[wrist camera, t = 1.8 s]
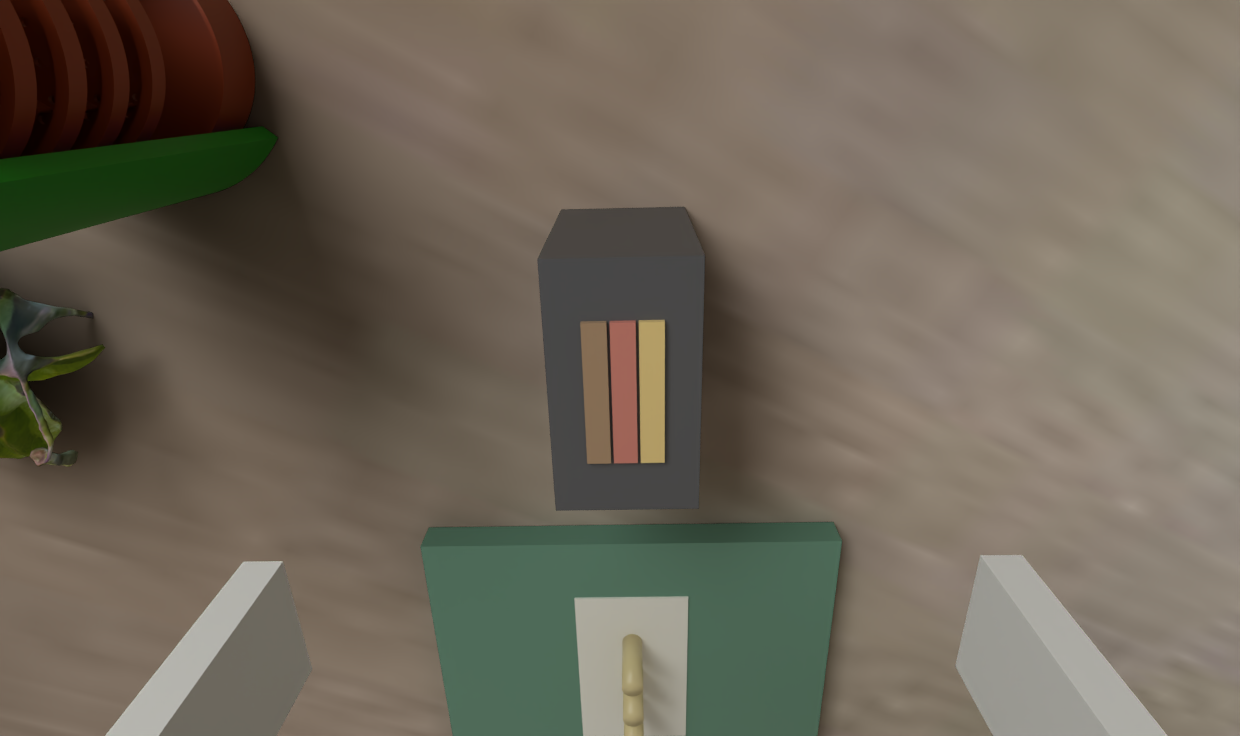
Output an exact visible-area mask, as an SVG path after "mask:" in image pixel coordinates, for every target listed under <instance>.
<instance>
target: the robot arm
mask: <svg viewBox="0 0 1240 736" xmlns="http://www.w3.org/2000/svg"><path fill="white" fill-rule="evenodd" d="M955 667H956V668H957V670H958V672H959V674H960V676H961V678H962V679H963V681H964V683H965V685H966V687H967V689H968V690H969V692H970V694H971V696H972V698H973V700H974V702H975V703H976V705H977V707H978V709H979V711H980V713H981V714H982V716H983V718H984V720H985V722H986V724H987V726H988V727H989V729H990V731H991V733H992V735H993V736H1167V734H1166V733H1165V732H1164V731H1163V729H1162V728H1161V727H1160V726H1159V724H1158V723H1157V722H1156V721H1155V719H1154V718H1153V717H1152V716H1151V714H1150V713H1149V712H1148V711H1147V709H1146V708H1145V707H1144V706H1143V705H1142V703H1141V702H1140V701H1139V700H1138V698H1137V697H1136V696H1135V695H1134V693H1133V692H1132V691H1131V690H1130V688H1129V687H1128V686H1127V685H1126V683H1125V682H1124V681H1123V680H1122V678H1121V677H1120V676H1119V675H1118V673H1117V672H1116V671H1115V670H1114V668H1113V667H1112V666H1111V665H1110V664H1109V662H1108V661H1107V660H1106V659H1105V657H1104V656H1103V655H1102V654H1101V652H1100V651H1099V650H1098V649H1097V647H1096V646H1095V645H1094V644H1093V642H1092V641H1091V640H1090V639H1089V637H1088V636H1087V635H1086V634H1085V632H1084V631H1083V630H1082V629H1081V628H1080V626H1079V625H1078V624H1077V623H1076V621H1075V620H1074V619H1073V618H1072V616H1071V615H1070V614H1069V613H1068V611H1067V610H1066V609H1065V608H1064V606H1063V605H1062V604H1061V603H1060V601H1059V600H1058V599H1057V598H1056V596H1055V595H1054V594H1053V593H1052V591H1051V590H1050V589H1049V588H1048V587H1047V585H1046V584H1045V583H1044V582H1043V580H1042V579H1041V578H1040V577H1039V575H1038V574H1037V573H1036V572H1035V570H1034V569H1033V568H1032V567H1031V565H1030V564H1029V563H1028V562H1027V560H1026V559H1025V558H1024V557H1023V555H980V559H979V564H978V568H977V573H976V577H975V581H974V586H973V590H972V595H971V599H970V603H969V608H968V612H967V617H966V621H965V625H964V630H963V634H962V639H961V643H960V648H959V652H958V656H957V661H956V665H955ZM311 670H312V667H311V663H310V659H309V655H308V652H307V648H306V644H305V641H304V637H303V633H302V630H301V626H300V622H299V619H298V615H297V611H296V607H295V604H294V600H293V596H292V593H291V589H290V585H289V582H288V578H287V574H286V571H285V567H284V563H283V561H264V562H243V563H242V564H241V565H240V567H239V568H238V569H237V570H236V572H235V573H234V574H233V575H232V577H231V578H230V579H229V580H228V582H227V583H226V584H225V585H224V587H223V588H222V589H221V591H220V592H219V593H218V594H217V596H216V597H215V598H214V599H213V601H212V602H211V603H210V604H209V606H208V607H207V608H206V609H205V611H204V612H203V613H202V614H201V616H200V617H199V618H198V620H197V621H196V622H195V623H194V625H193V626H192V627H191V628H190V630H189V631H188V632H187V633H186V635H185V636H184V637H183V638H182V640H181V641H180V642H179V643H178V645H177V646H176V647H175V648H174V650H173V651H172V652H171V654H170V655H169V656H168V657H167V659H166V660H165V661H164V662H163V664H162V665H161V666H160V667H159V669H158V670H157V671H156V672H155V674H154V675H153V676H152V677H151V679H150V680H149V681H148V683H147V684H146V685H145V686H144V688H143V689H142V690H141V691H140V693H139V694H138V695H137V696H136V698H135V699H134V700H133V701H132V703H131V704H130V705H129V706H128V708H127V709H126V710H125V711H124V713H123V714H122V715H121V717H120V718H119V719H118V720H117V722H116V723H115V724H114V725H113V727H112V728H111V729H110V730H109V732H108V733H107V734H106V735H105V736H277V734H278V732H279V730H280V728H281V726H282V724H283V722H284V721H285V719H286V717H287V715H288V713H289V711H290V709H291V708H292V706H293V704H294V702H295V700H296V698H297V696H298V695H299V693H300V691H301V689H302V687H303V685H304V683H305V681H306V680H307V678H308V676H309V674H310V672H311Z"/></svg>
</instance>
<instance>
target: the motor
mask: <svg viewBox="0 0 1240 736" xmlns="http://www.w3.org/2000/svg"><path fill="white" fill-rule="evenodd" d="M254 92H255V70H254V62H253V57H252V52H251V49H250V45H249V42H248V39H247V36H246V34H245V31H244V29H243V27H242V25H241V22H240V20H239V19H238V17H237V15H236V13H235V11H234V10H233V8H232V7H231V5H230V4H229V2H228V1H227V0H0V251H4V250H7V249H11V248H15V247H18V246H22V245H25V244H29V243H33V242H36V241H40V240H44V239H47V238H51V237H55V236H58V235H62V234H66V233H69V232H73V231H77V230H80V229H84V228H87V227H91V226H95V225H98V224H102V223H106V222H109V221H113V220H117V219H120V218H124V217H128V216H131V215H135V214H139V213H142V212H146V211H150V210H153V209H157V208H160V207H164V206H168V205H171V204H175V203H179V202H182V201H186V200H190V199H193V198H197V197H201V196H204V195H208V194H212V193H215V192H219V191H221V190H224V189H227V188H229V187H231V186H233V185H235V184H237V183H238V182H240V181H242V180H243V179H245V178H246V177H247V176H249V175H250V174H251V173H252V172H253V171H255V170H256V169H257V168H258V167H259V166H260V164H261V163H262V162H263V161H264V160H265V158H266V157H267V156H268V154H269V153H270V151H271V150H272V148H273V146H274V145H275V143H276V141H277V139H278V137H277V136H275V135H274V134H273V133H271V132H270V131H268V130H267V129H266V128H264V127H263V126H261V127H253V128H245V129H243V127H244V126H245V124H246V122H247V119H248V117H249V114H250V112H251V108H252V104H253V99H254Z"/></svg>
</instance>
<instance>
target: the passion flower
mask: <svg viewBox="0 0 1240 736" xmlns="http://www.w3.org/2000/svg"><path fill="white" fill-rule="evenodd" d="M73 315H75V316H79V317H87V318H93V314H92V312H85V311H80V310H75V309H72V308H66V307H55V306H51V305H46V304H41V303H37V302H33V301H28V300H25V299H23V298H21V297H20V296H18V295H17V294H15V293H14V292H12V291H10V290H9V289H4V288H0V328H1V330H2V332H3V335H4V337H5V340H6V345H7V355H6V356H5V357H4V358H2V359H0V458H17V459H21V458H24V457H28V456H30V457H31V458H32V459H33V461H34V462H35V463H36V465H37V466H41V465H44V464H49V465H63V466H67V467H69V466H71V465H73V464H74V463H75V462H76V460H77V456H78V452H76V451H75V450H70V451H67V452H64V453H61V454H57V453H53V452H52V451H53V444H54V440H55V439H56V437H57V436H58V434H59V433H60V432H61V430H62V424H61V421H60V419H58V418H57V417H56V416H55V415H53V413H52V412H51V411H50V410H49V409H48V408H47V407H46V405H45V404H44V403H43V402H42V401H41V400H39V399H38V398H37V397H36V396H35V395H34V393H33V391H32V389H31V388H30V386H29V383H28V381H35V380H45V379H48V378H52V377H55V376H58V375H61V374H67V373H71V372H74V371H76V370H79V369H81V368H82V367H84V366H86V365H87V364H89V363H90V362H92V361H93V360H94V359H95V358H96V357H97V356H98V355H99V354H100V353H101V351H102V350H103V349H104V348H105V347H104V346H103V344H102V345H99V346H96V347H93V348H89V349H85V350H81V351H78V352H74V353H71V354H67V355H63V356H58V357H40V356H34V355H30V354H25V353H24V352H23V351H22V350H21V349H20V348H19V346H18V341H19V339H20V338H21V337H23V336H25V335H27V334H30V333H35V332H38V331H39V330H40V329H42V328H43V327H44V325H45V324H46V323H48V322H49V321H52V320H54V319H56V318H59V317H65V316H73ZM47 448H48V449H47Z"/></svg>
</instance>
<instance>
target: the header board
mask: <svg viewBox="0 0 1240 736" xmlns="http://www.w3.org/2000/svg"><path fill="white" fill-rule="evenodd" d="M841 545H842V540H841V538H840V536H839V533H838V531H837V529H836V527H835V525H834V522H800V523H727V524H654V525H581V526H508V527H435V528H429V529H428V531H427V533H426V535H425V538H424V540H423V542H422V545H421V552H422V558H423V564H424V570H425V576H426V582H427V587H428V593H429V599H430V605H431V611H432V617H433V623H434V628H435V634H436V640H437V646H438V652H439V658H440V663H441V669H442V675H443V681H444V687H445V693H446V699H447V704H448V710H449V716H450V722H451V728H452V734H453V736H817V735H818V727H819V719H820V711H821V703H822V695H823V687H824V679H825V672H826V664H827V656H828V648H829V640H830V632H831V624H832V616H833V608H834V601H835V593H836V585H837V577H838V569H839V561H840V553H841Z"/></svg>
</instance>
